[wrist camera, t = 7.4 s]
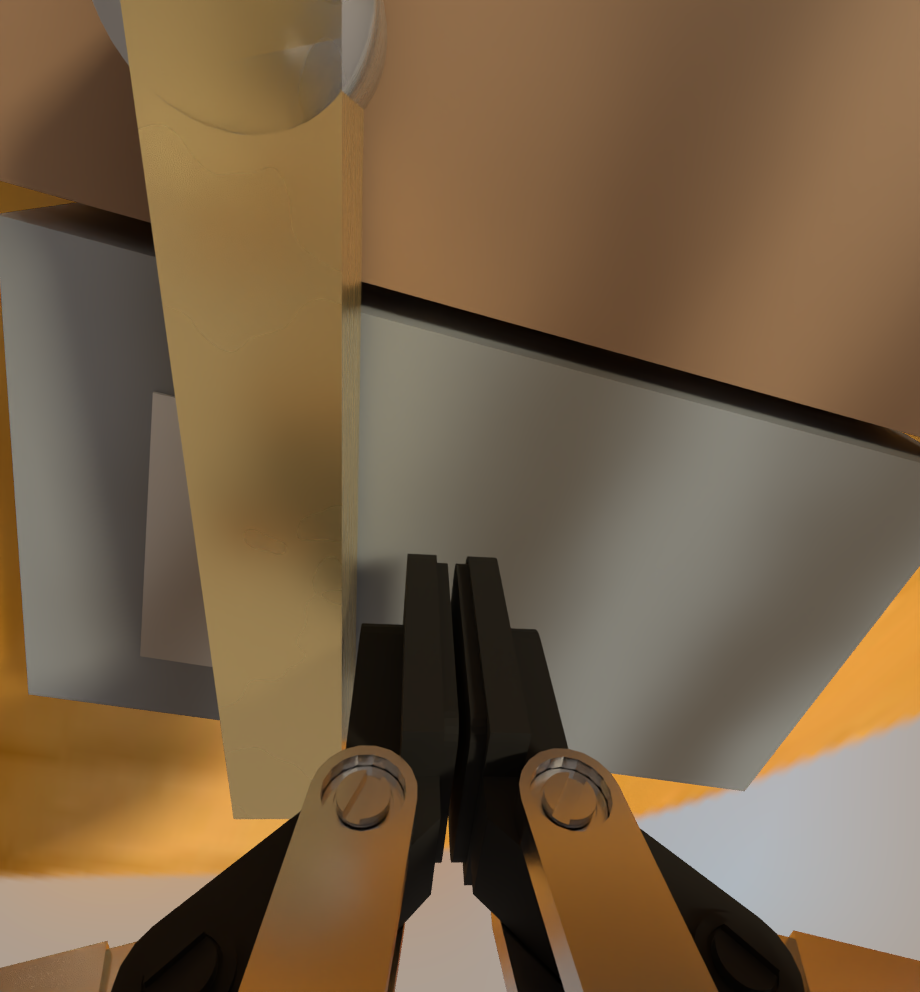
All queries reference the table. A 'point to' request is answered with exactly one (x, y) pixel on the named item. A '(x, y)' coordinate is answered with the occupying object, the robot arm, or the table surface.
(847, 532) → the door mockup
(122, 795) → the table surface
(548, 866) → the robot arm
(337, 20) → the latch bar
